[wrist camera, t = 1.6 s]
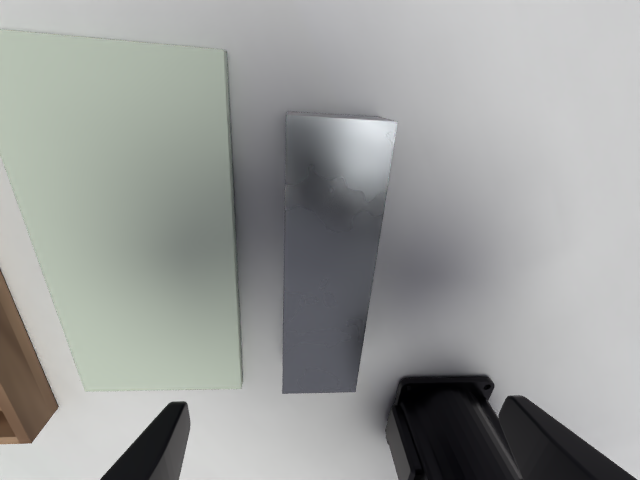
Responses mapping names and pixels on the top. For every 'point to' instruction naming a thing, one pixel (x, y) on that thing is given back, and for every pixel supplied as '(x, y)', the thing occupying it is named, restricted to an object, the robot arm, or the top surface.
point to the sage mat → (128, 203)
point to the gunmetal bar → (331, 243)
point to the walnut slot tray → (20, 379)
